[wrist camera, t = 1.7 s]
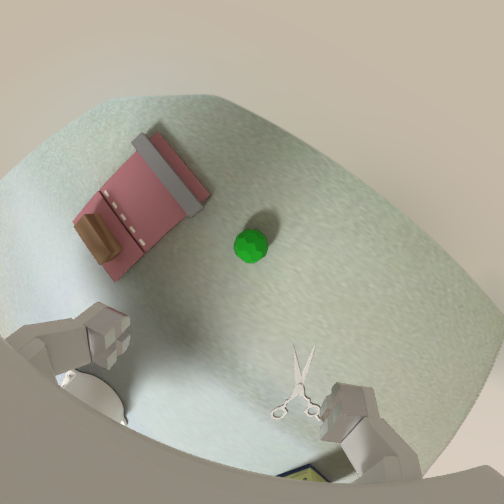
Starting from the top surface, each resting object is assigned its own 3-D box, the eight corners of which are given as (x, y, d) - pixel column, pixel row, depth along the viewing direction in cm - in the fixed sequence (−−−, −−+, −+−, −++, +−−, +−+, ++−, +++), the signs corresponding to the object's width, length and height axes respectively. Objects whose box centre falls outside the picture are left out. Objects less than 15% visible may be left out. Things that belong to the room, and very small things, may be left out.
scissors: (270, 424, 48) (274, 345, 45) (270, 422, 49) (274, 342, 46) (320, 421, 48) (333, 342, 45) (319, 418, 49) (332, 340, 46)
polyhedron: (260, 264, 43) (260, 271, 39) (230, 253, 43) (228, 258, 38) (271, 234, 43) (273, 237, 38) (241, 223, 42) (240, 225, 38)
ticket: (151, 255, 43) (144, 258, 40) (100, 185, 41) (91, 184, 39) (214, 199, 42) (211, 198, 39) (156, 129, 40) (150, 124, 37)
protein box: (309, 462, 51) (318, 509, 35) (331, 482, 52) (341, 522, 37) (272, 476, 51) (275, 521, 36) (299, 494, 53) (304, 533, 38)
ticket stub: (117, 280, 44) (102, 289, 38) (75, 221, 42) (57, 223, 37) (145, 252, 43) (132, 258, 38) (101, 191, 42) (84, 189, 36)
